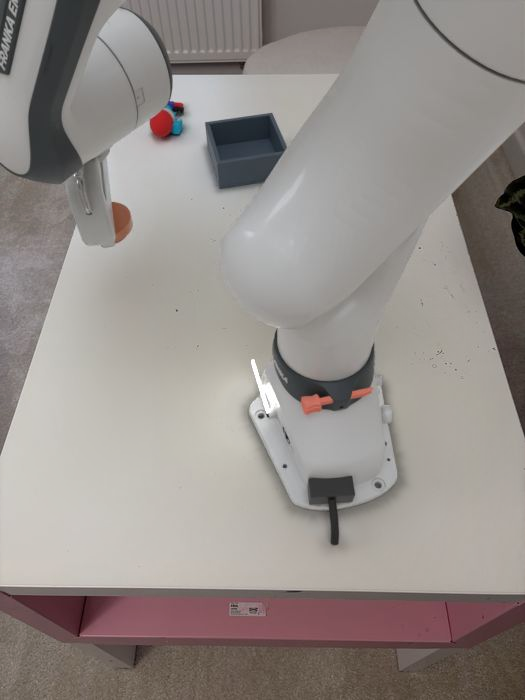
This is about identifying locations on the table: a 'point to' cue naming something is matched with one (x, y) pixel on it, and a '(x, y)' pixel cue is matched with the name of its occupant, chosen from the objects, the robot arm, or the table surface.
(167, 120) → the toy figure
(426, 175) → the robot arm
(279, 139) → the tub
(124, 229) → the orange hockey puck
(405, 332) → the table surface
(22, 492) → the table surface
